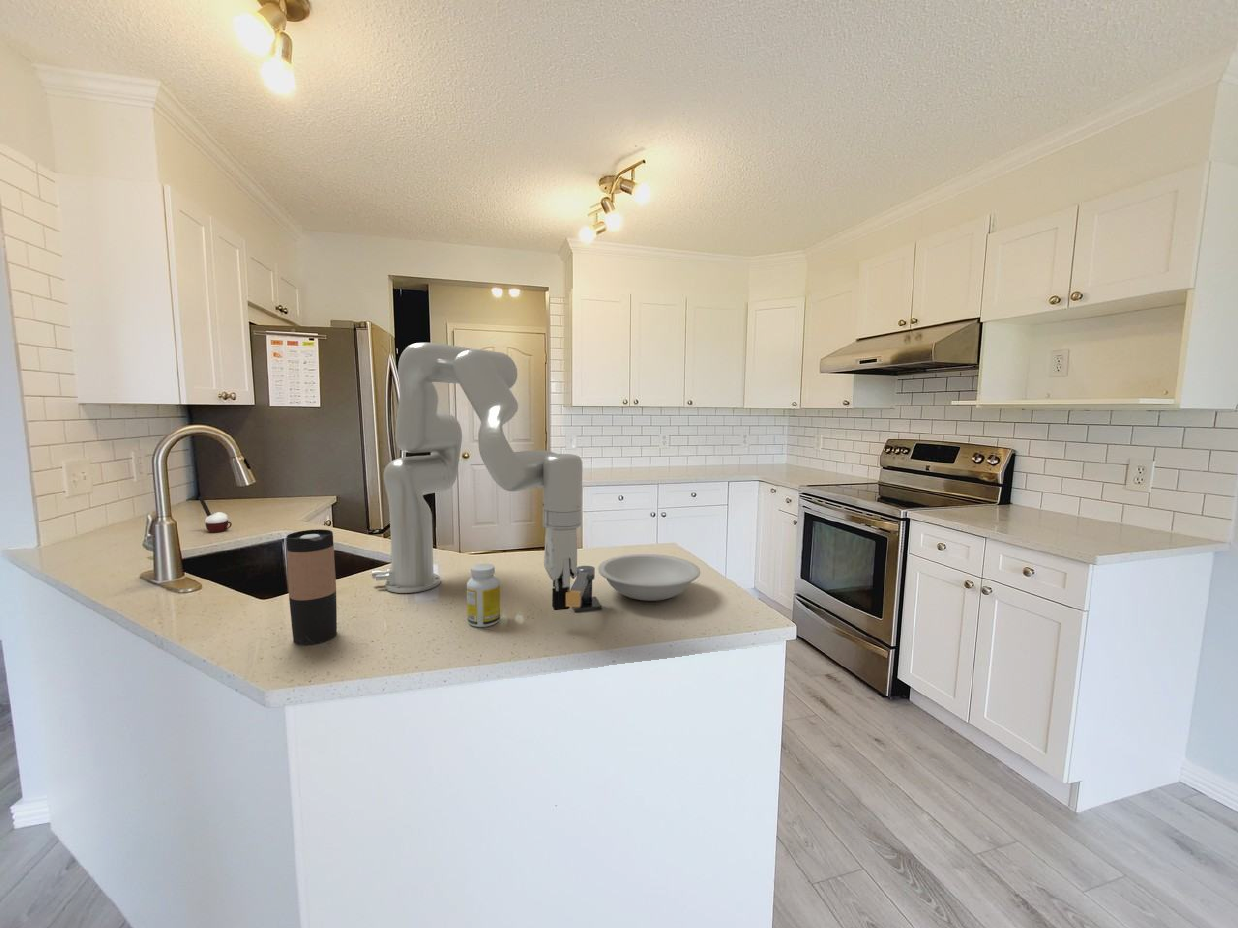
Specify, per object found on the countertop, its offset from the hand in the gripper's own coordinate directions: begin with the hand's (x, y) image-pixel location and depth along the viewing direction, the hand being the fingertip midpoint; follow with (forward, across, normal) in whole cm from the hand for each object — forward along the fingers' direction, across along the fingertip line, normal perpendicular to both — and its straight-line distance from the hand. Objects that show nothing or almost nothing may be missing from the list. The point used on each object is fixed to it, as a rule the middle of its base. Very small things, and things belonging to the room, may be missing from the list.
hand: (560, 607), depth 102 cm
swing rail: (-2, -4, +5) cm, 6 cm away
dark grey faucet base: (+4, -10, +8) cm, 13 cm away
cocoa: (+7, -110, -98) cm, 148 cm away
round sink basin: (+4, -13, +24) cm, 27 cm away
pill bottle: (+5, -8, -14) cm, 17 cm away
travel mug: (+5, -9, -45) cm, 47 cm away
